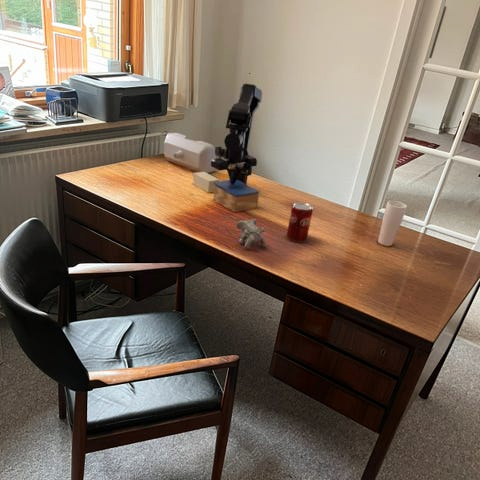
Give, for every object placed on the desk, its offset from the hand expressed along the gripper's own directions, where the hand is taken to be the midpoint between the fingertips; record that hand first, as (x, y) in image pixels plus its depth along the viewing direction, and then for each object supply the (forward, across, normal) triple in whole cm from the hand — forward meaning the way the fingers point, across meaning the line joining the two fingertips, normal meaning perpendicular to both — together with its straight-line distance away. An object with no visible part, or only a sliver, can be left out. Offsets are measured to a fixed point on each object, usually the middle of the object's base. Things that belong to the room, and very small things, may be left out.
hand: (232, 184), depth 187 cm
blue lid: (+1, 0, +3) cm, 3 cm away
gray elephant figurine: (+7, +19, +33) cm, 39 cm away
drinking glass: (+7, -28, +56) cm, 63 cm away
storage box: (+7, 0, +3) cm, 8 cm away
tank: (+7, -8, -43) cm, 44 cm away
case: (+7, 0, -17) cm, 18 cm away
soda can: (+7, 0, +38) cm, 39 cm away
